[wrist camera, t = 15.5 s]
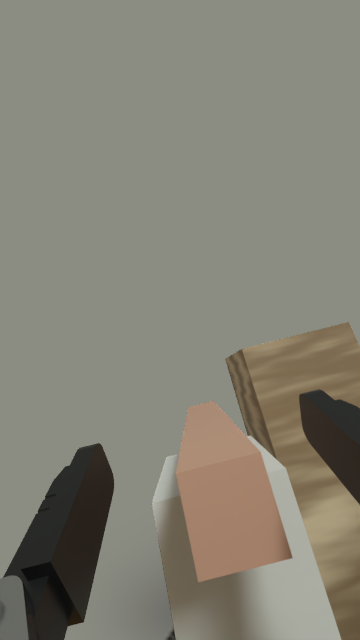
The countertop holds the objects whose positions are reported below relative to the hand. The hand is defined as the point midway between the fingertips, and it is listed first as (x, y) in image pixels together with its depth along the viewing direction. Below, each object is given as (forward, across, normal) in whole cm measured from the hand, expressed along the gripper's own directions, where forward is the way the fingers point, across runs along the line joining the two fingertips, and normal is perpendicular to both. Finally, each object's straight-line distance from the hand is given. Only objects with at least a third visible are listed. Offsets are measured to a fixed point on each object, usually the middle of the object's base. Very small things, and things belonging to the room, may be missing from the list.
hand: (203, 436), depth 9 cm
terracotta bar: (+8, 0, +10) cm, 12 cm away
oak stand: (+9, -14, +37) cm, 40 cm away
